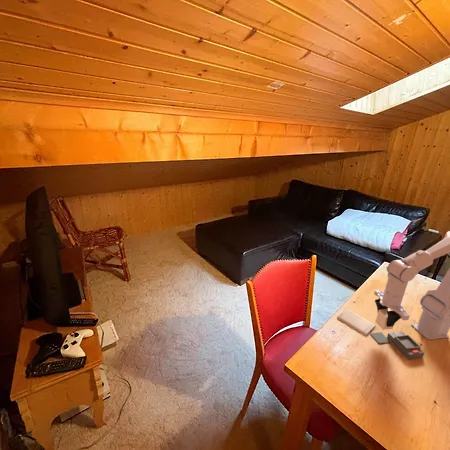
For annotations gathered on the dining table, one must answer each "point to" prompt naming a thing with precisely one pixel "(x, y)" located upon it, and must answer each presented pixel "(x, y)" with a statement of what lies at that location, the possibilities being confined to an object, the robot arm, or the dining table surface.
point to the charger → (383, 319)
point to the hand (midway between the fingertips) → (385, 321)
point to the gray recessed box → (405, 345)
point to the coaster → (380, 337)
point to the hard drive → (356, 322)
